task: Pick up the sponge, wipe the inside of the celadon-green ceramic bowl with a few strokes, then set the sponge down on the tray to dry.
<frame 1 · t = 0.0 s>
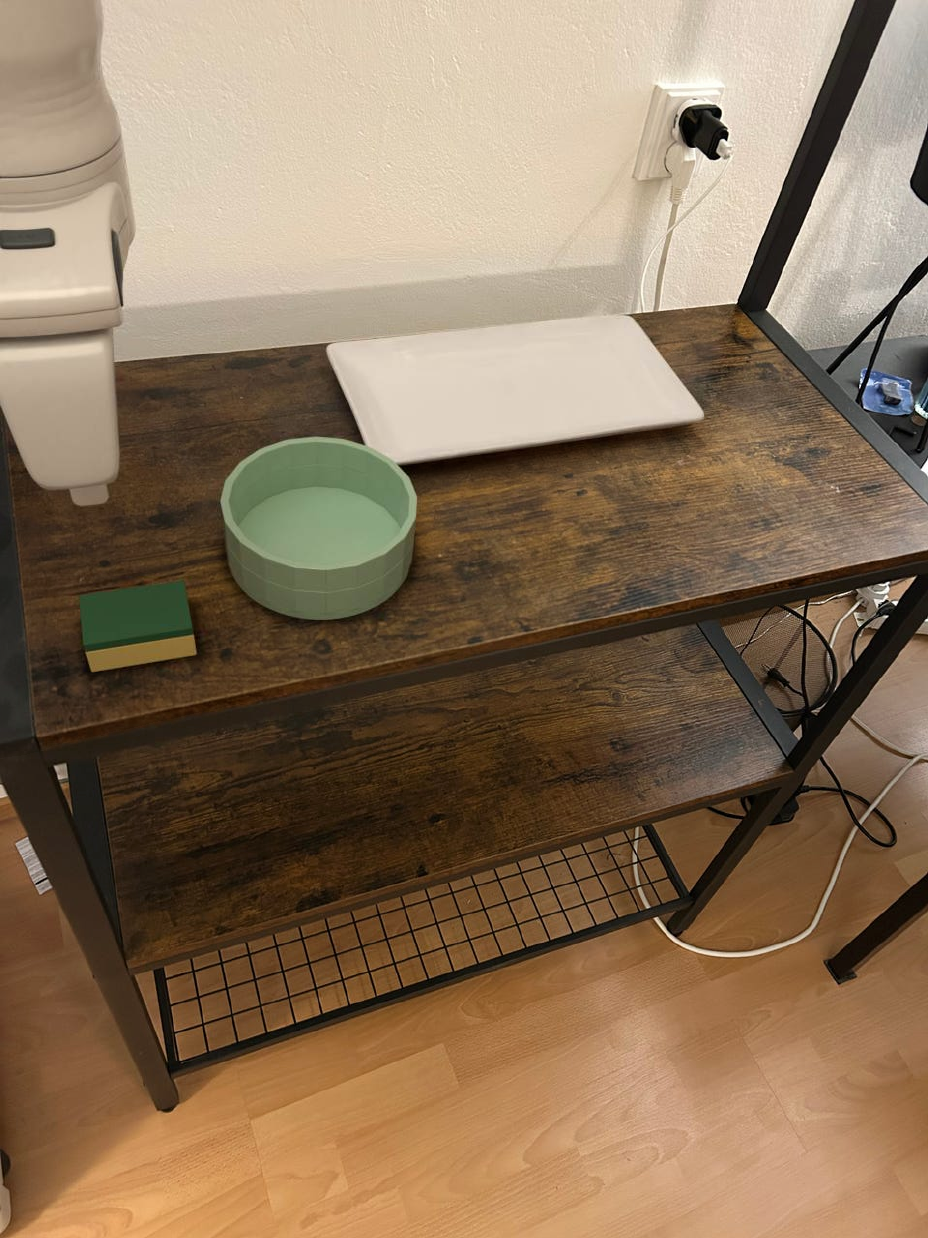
hand: (85, 439, 54), 18 cm above the table, tool pointing down, fingers open, 8 cm apart
bowl: (320, 551, 75), on the table
tray: (510, 411, 90), on the table
sponge: (141, 639, 68), on the table
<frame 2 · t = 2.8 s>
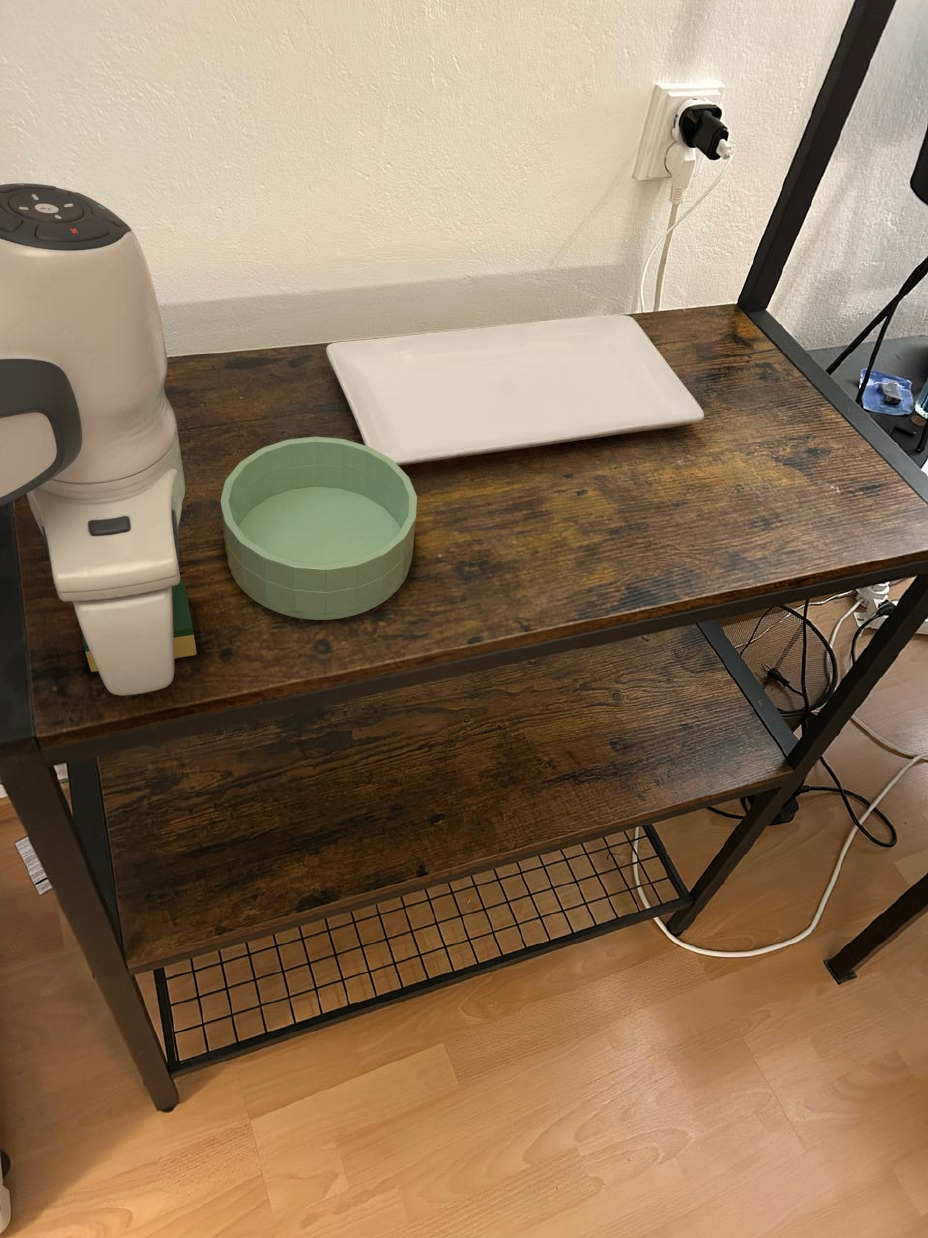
hand: (138, 624, 67), 2 cm above the table, tool pointing down, fingers closed on sponge, 4 cm apart
sponge: (141, 639, 68), on the table, touching gripper
everything else where it was.
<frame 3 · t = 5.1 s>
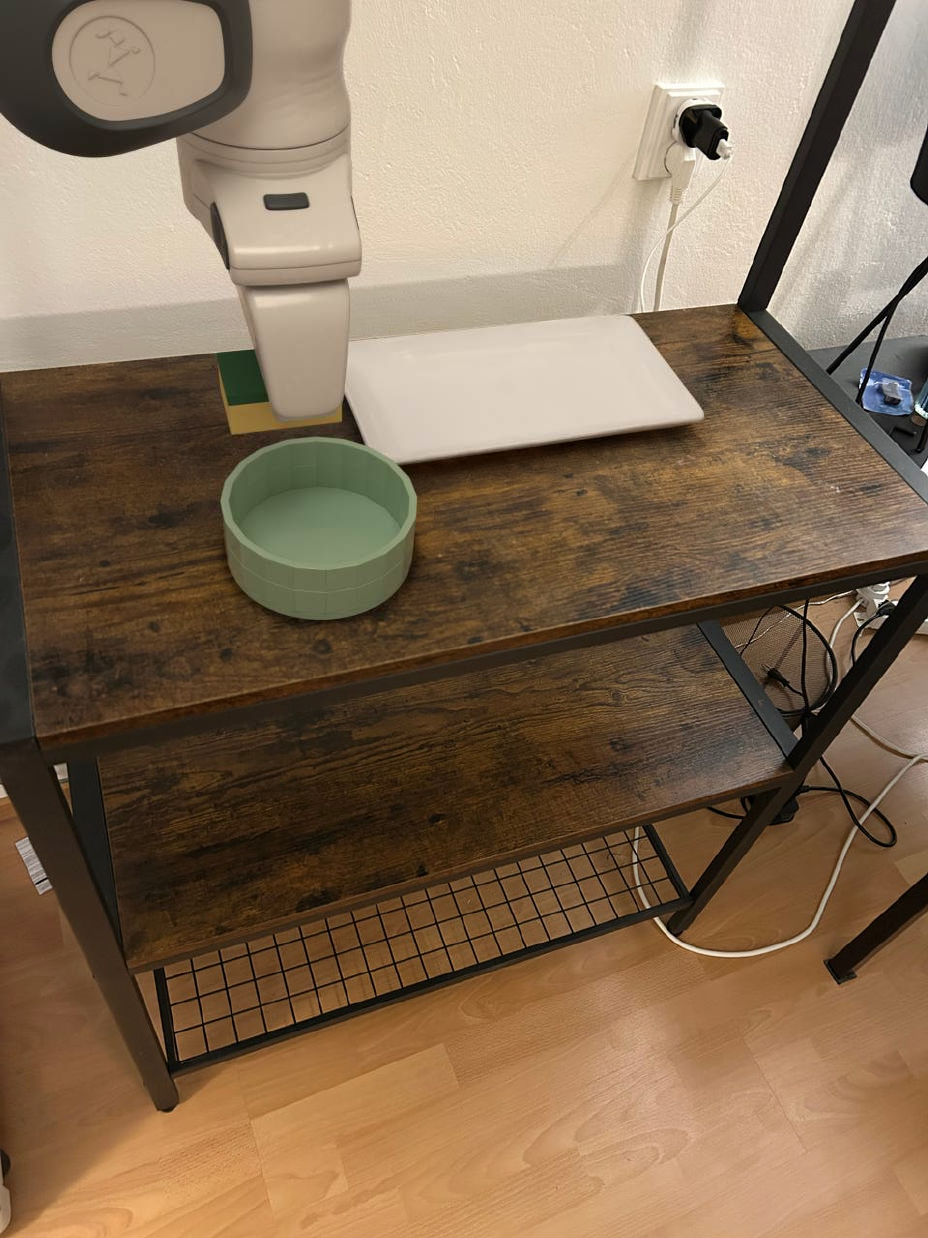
hand: (279, 386, 61), 17 cm above the table, tool pointing down, fingers closed on sponge, 4 cm apart
sponge: (281, 406, 62), point 15 cm above the table, touching gripper
everything else where it was.
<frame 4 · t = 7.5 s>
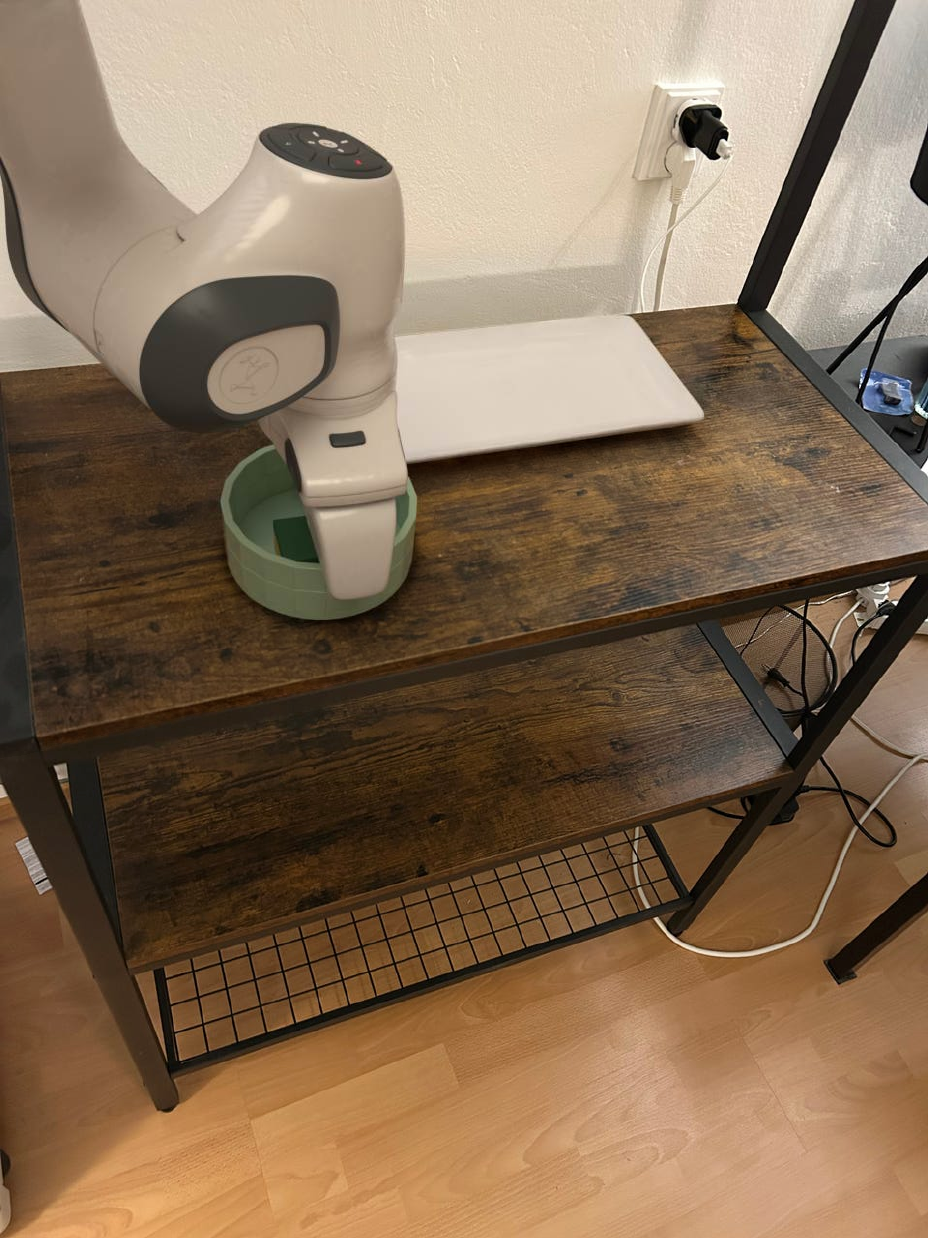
hand: (325, 547, 72), 2 cm above the table, tool pointing down, fingers closed on sponge, 4 cm apart
sponge: (325, 562, 74), point 1 cm above the table, touching gripper
everything else where it was.
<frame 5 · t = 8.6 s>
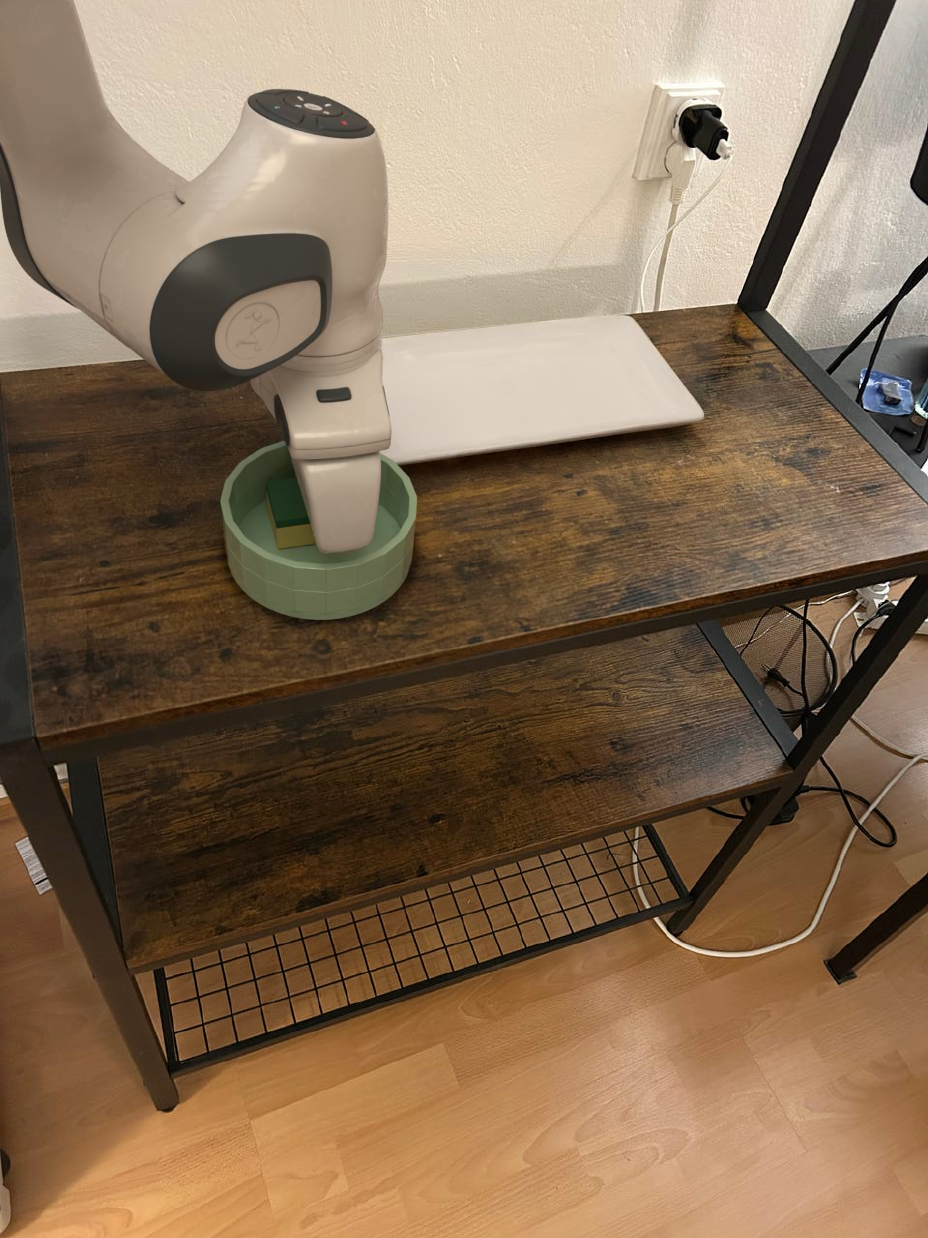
hand: (316, 508, 75), 3 cm above the table, tool pointing down, fingers closed on sponge, 4 cm apart
sponge: (316, 523, 76), point 1 cm above the table, touching gripper
everything else where it was.
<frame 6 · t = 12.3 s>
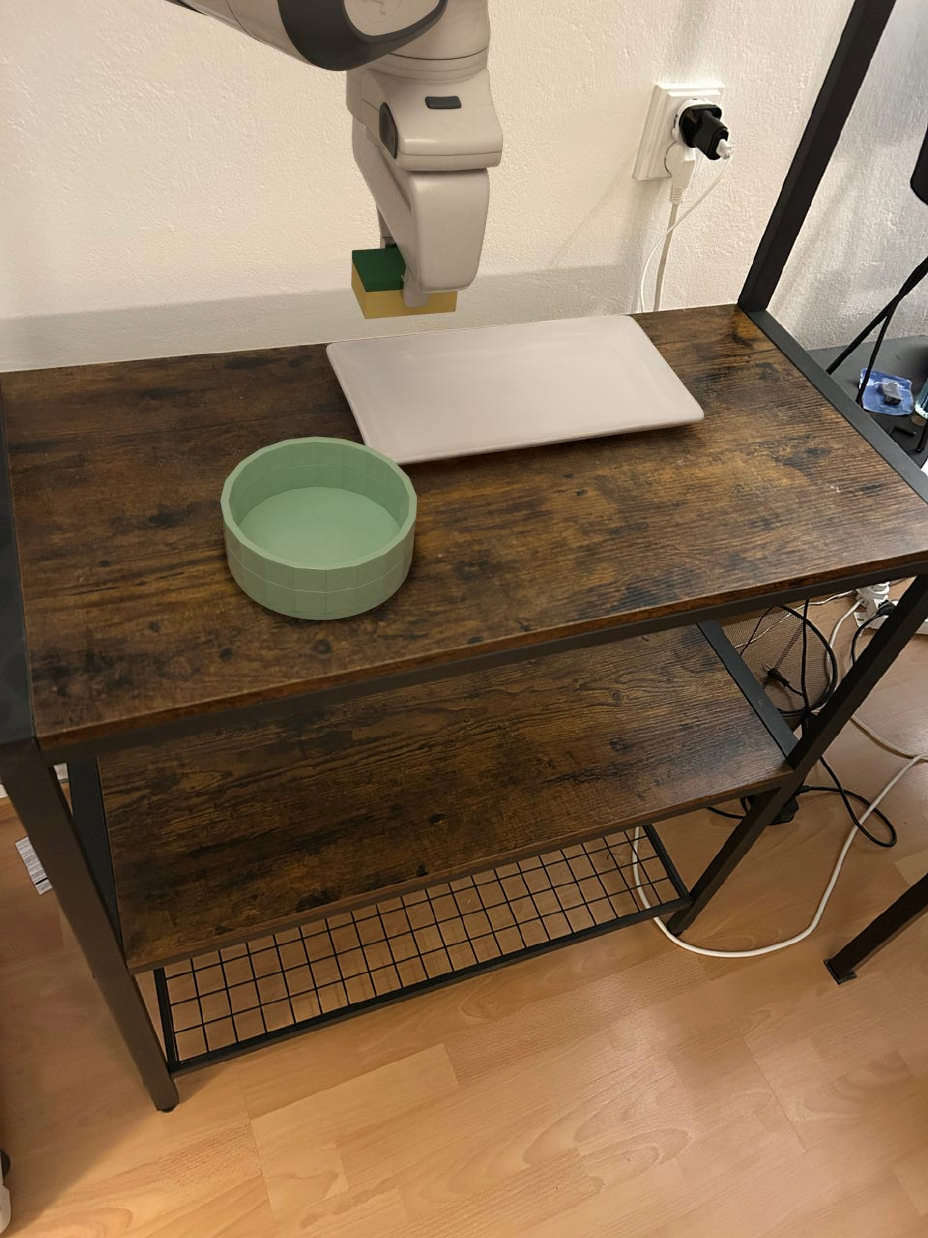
hand: (403, 280, 72), 16 cm above the table, tool pointing down, fingers closed on sponge, 4 cm apart
sponge: (403, 299, 73), point 15 cm above the table, touching gripper
everything else where it was.
when the fingers open (5 cm above the table, at t = 15.3 s): sponge stays where it is, resting on tray.
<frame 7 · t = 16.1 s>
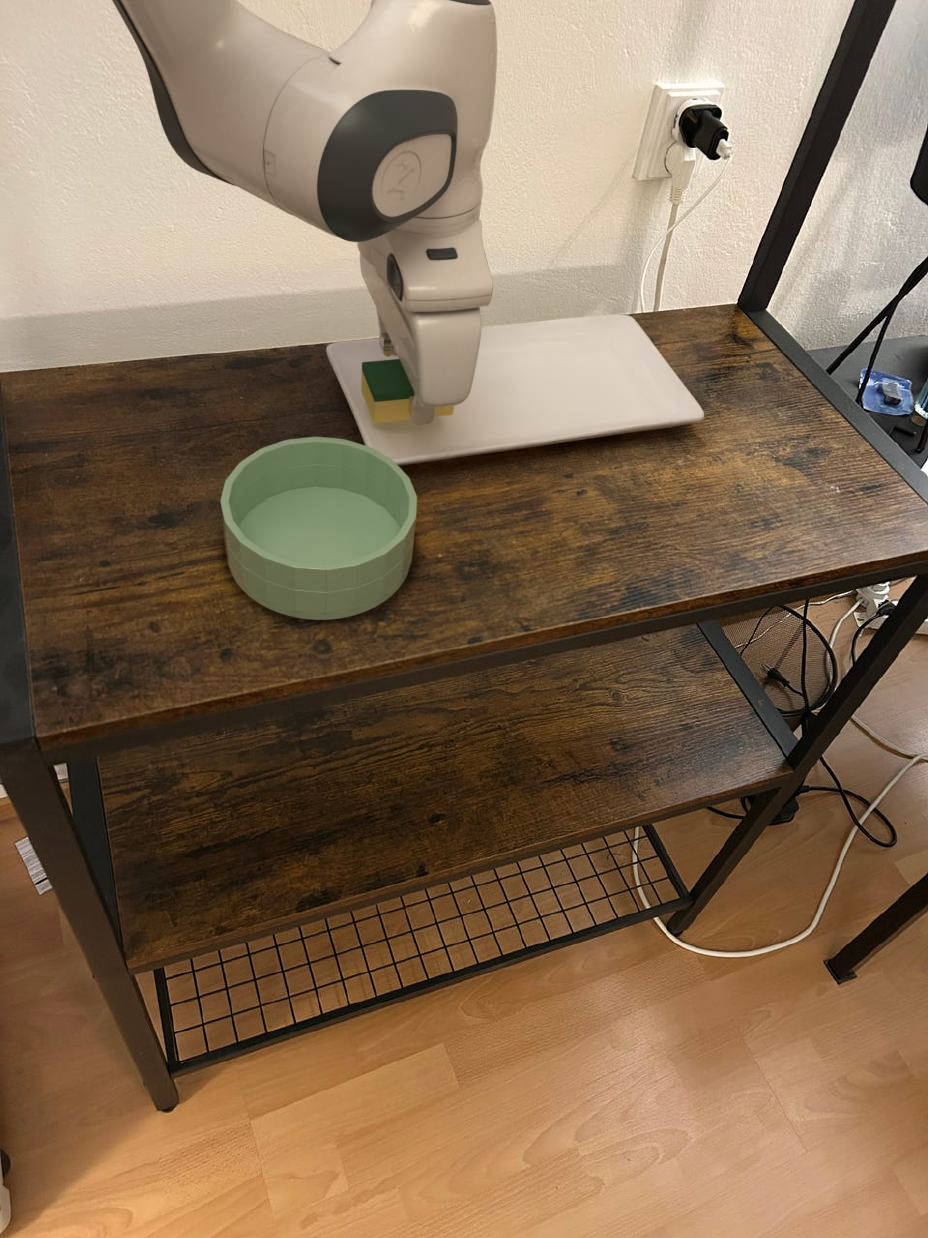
hand: (405, 383, 81), 6 cm above the table, tool pointing down, fingers open, 8 cm apart
tray: (510, 411, 90), on the table, touching sponge
sponge: (406, 403, 83), point 3 cm above the table, touching tray
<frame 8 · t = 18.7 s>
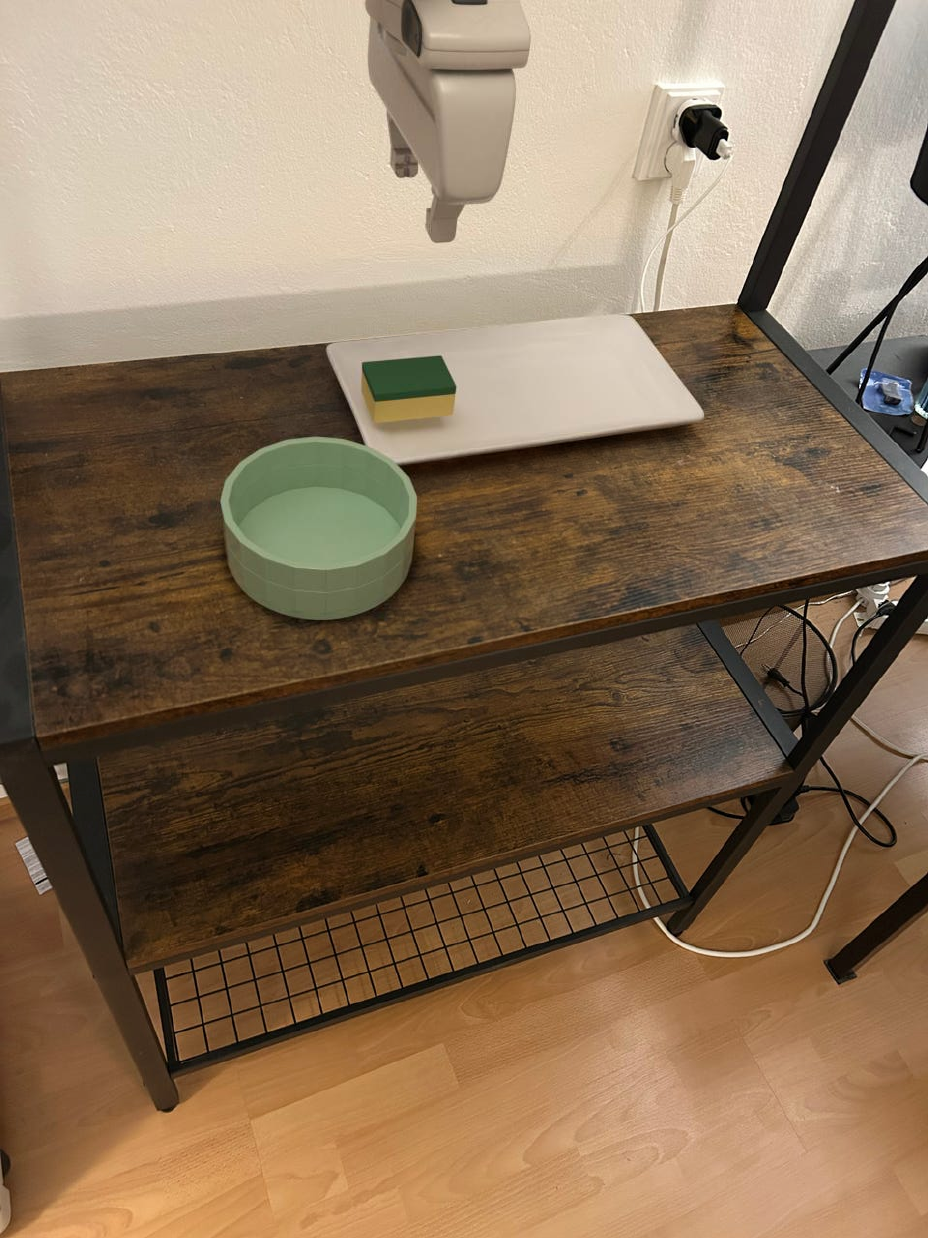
hand: (420, 204, 70), 21 cm above the table, tool pointing down, fingers open, 8 cm apart
nothing on the table moved.
at the end: sponge inside the target area on the tray (11.0 cm from its centre), point 3.7 cm above the tray's base; the gripper is holding nothing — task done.
